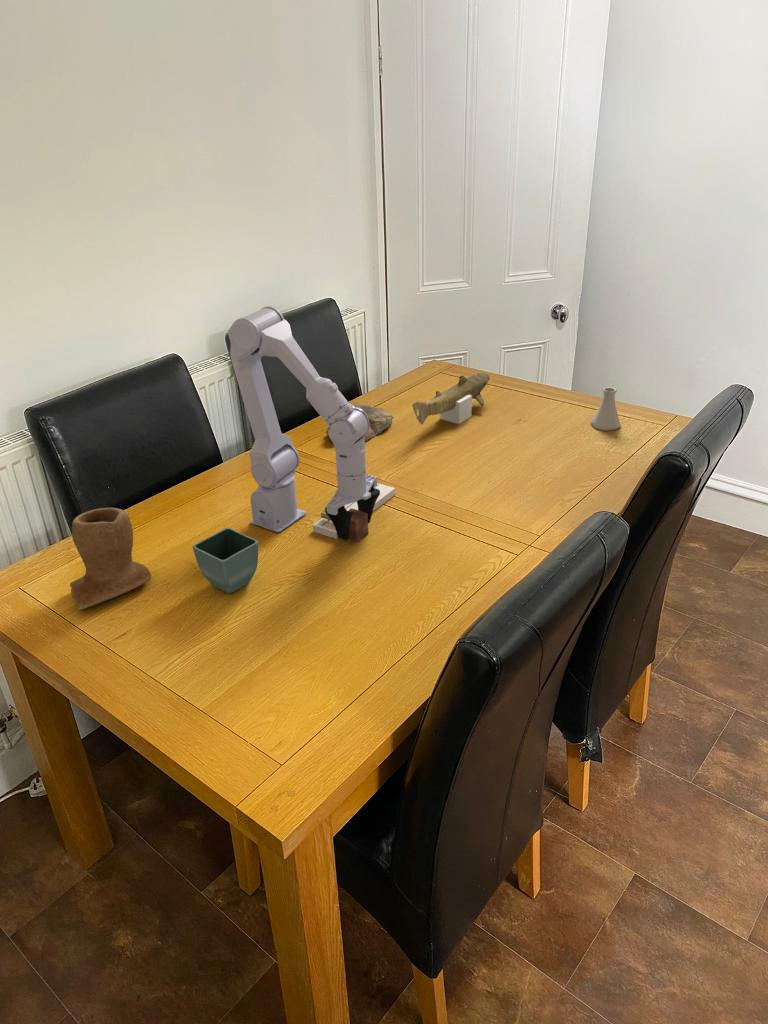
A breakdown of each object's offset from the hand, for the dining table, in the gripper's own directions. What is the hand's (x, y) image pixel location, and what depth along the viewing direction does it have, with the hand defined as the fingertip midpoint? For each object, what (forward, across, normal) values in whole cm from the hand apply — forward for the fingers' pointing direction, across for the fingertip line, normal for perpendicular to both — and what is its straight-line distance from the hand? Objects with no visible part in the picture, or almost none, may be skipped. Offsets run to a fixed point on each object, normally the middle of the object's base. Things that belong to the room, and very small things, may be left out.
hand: (354, 529), depth 165 cm
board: (+1, +8, +5) cm, 10 cm away
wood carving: (+2, +61, +12) cm, 62 cm away
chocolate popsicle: (+2, 0, +3) cm, 3 cm away
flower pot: (+2, -26, +10) cm, 28 cm away
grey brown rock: (+2, +43, +30) cm, 52 cm away
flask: (+2, +78, -24) cm, 82 cm away
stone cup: (+2, -39, +29) cm, 49 cm away
